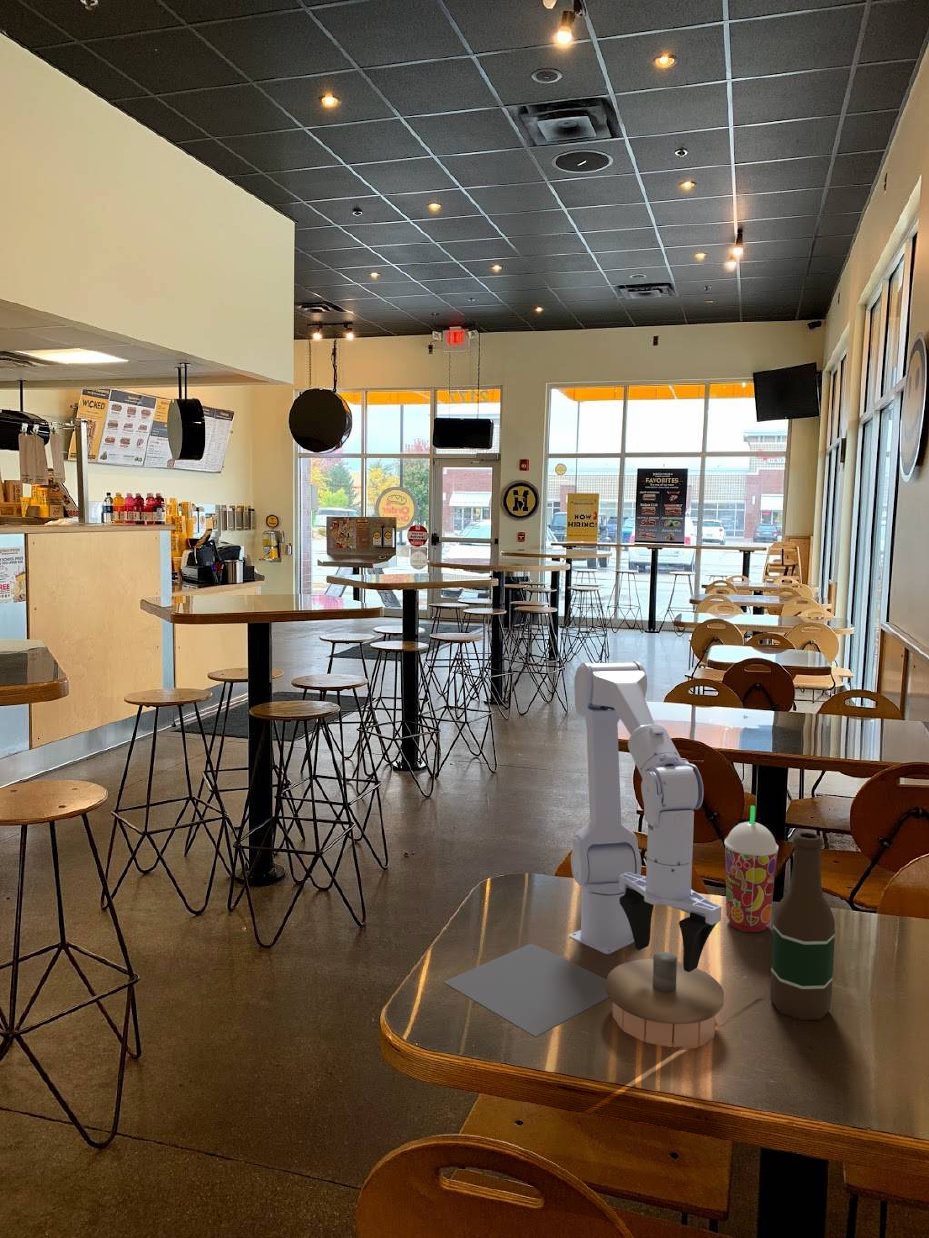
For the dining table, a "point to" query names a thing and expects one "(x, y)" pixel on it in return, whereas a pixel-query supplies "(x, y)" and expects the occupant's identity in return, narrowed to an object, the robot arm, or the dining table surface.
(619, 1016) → the bowl
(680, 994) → the lid
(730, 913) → the smoothie
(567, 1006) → the mat
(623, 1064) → the dining table surface
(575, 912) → the dining table surface
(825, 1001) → the beer bottle
